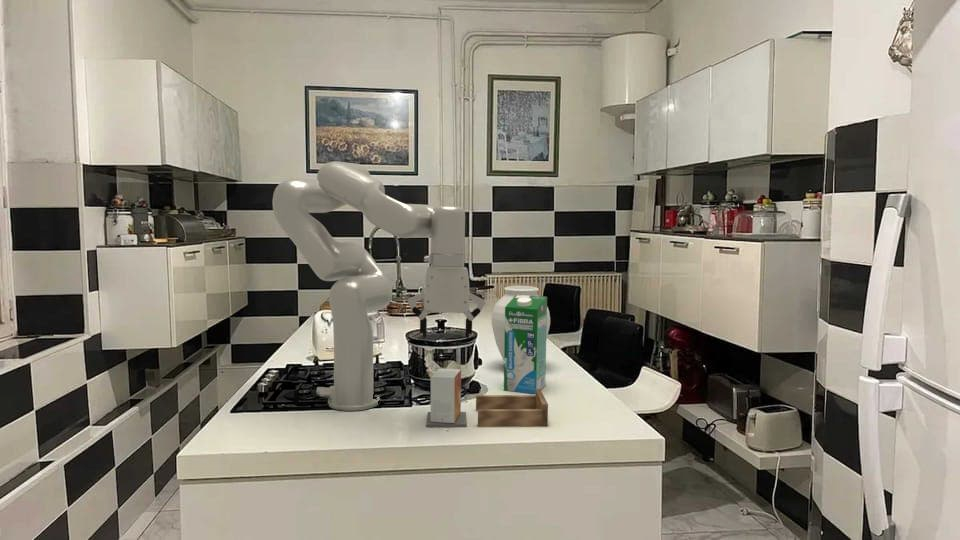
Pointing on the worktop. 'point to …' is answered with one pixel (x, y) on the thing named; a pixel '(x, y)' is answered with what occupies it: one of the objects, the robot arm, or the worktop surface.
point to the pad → (459, 422)
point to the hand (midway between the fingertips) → (445, 336)
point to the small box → (445, 395)
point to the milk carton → (525, 344)
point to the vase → (499, 313)
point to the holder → (512, 410)
